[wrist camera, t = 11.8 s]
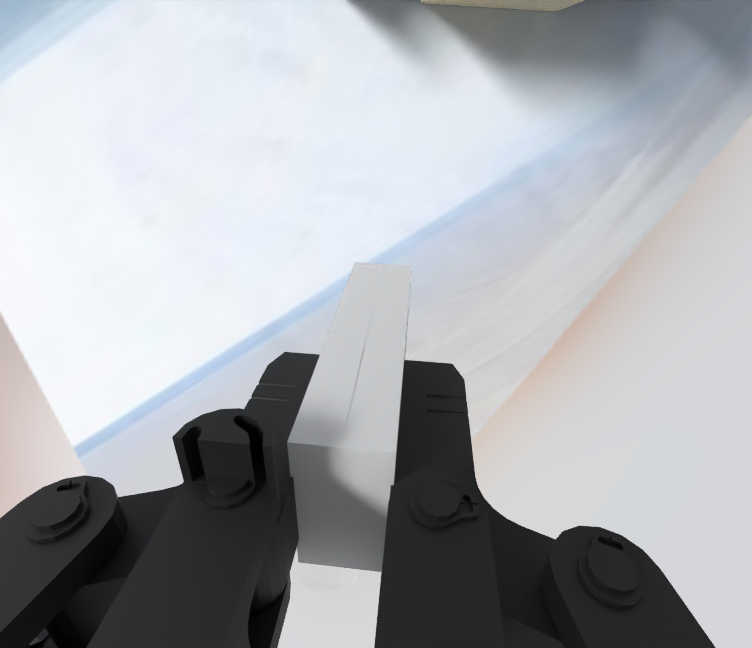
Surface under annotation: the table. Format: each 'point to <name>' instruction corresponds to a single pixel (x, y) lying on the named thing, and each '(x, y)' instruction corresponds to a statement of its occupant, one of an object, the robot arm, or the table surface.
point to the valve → (510, 4)
